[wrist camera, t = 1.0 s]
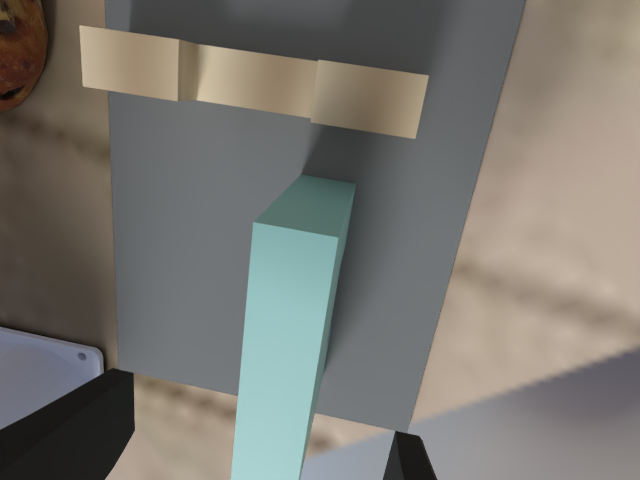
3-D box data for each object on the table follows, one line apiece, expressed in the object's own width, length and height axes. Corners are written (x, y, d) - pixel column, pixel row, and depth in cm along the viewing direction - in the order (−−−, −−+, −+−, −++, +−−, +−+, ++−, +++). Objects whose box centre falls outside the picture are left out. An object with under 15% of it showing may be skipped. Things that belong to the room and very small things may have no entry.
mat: (122, 364, 24) (118, 369, 23) (109, -50, 17) (103, -54, 16) (406, 427, 22) (407, 433, 22) (522, 2, 15) (525, -1, 15)
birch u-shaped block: (130, 86, 18) (83, 86, 15) (128, 35, 17) (79, 25, 15) (410, 130, 17) (415, 138, 14) (421, 77, 16) (428, 75, 13)
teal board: (277, 365, 22) (230, 483, 15) (300, 174, 18) (253, 221, 12) (323, 374, 22) (295, 498, 15) (355, 183, 18) (338, 237, 12)
